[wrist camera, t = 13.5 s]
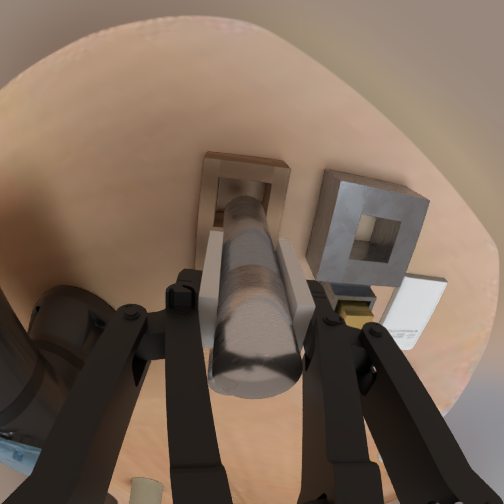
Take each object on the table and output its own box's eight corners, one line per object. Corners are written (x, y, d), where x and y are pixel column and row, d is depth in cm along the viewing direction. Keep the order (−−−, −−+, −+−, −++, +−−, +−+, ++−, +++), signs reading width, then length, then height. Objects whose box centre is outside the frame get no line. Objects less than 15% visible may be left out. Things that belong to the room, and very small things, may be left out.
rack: (258, 299, 36) (261, 320, 33) (195, 293, 35) (192, 314, 32) (283, 160, 29) (290, 169, 26) (207, 151, 28) (203, 158, 25)
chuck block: (293, 304, 37) (300, 331, 32) (325, 169, 30) (340, 180, 25) (366, 308, 38) (379, 332, 34) (406, 186, 31) (430, 200, 26)
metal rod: (222, 231, 25) (209, 396, 11) (226, 193, 24) (214, 337, 9) (261, 235, 25) (291, 399, 11) (267, 198, 24) (313, 342, 10)
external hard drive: (443, 276, 37) (408, 343, 43) (400, 270, 36) (366, 343, 42) (448, 282, 36) (412, 350, 41) (405, 277, 35) (370, 351, 40)
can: (133, 484, 66) (129, 517, 55) (130, 474, 62) (124, 510, 51) (164, 490, 67) (161, 523, 56) (163, 481, 63) (159, 517, 53)
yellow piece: (323, 305, 36) (337, 339, 31) (331, 283, 34) (346, 315, 29) (347, 307, 36) (363, 339, 31) (355, 285, 35) (374, 316, 29)
